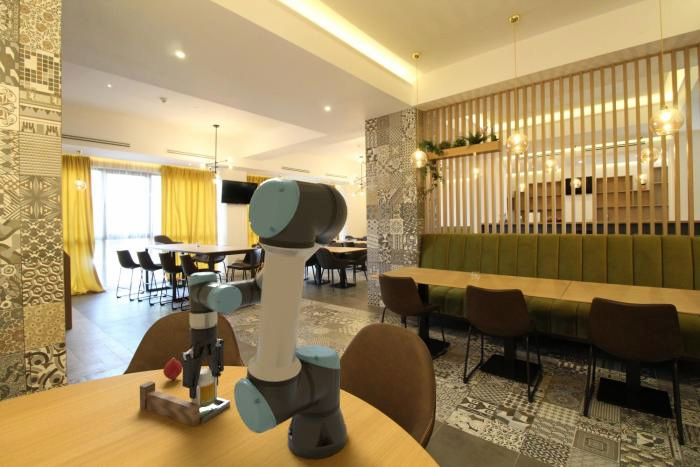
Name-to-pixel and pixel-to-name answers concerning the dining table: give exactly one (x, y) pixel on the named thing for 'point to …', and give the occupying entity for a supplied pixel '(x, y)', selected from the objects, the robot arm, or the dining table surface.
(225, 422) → the dining table surface
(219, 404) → the socket
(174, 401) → the door edge rail
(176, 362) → the onion
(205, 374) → the supplement bottle
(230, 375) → the dining table surface
